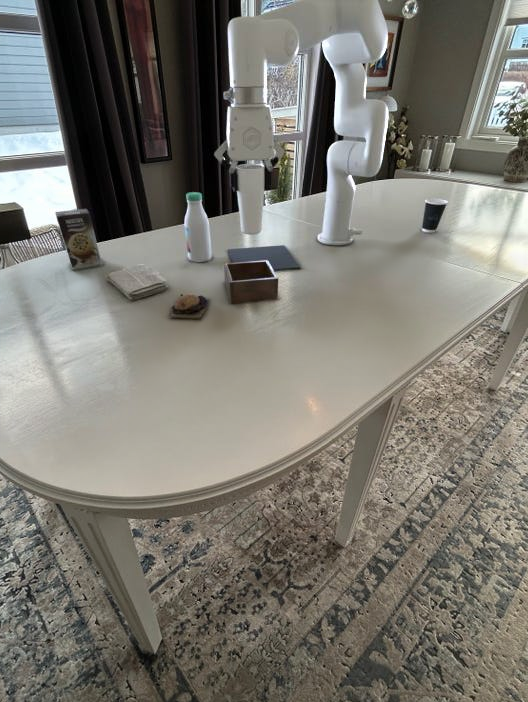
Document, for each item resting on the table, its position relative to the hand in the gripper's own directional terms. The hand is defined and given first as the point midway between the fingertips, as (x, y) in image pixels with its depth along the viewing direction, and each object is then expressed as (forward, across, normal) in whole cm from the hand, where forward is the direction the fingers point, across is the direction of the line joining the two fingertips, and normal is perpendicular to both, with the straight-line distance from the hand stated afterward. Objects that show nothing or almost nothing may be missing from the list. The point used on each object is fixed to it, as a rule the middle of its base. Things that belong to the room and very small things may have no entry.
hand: (250, 189), depth 87 cm
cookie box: (+26, -49, +28) cm, 62 cm away
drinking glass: (+10, 0, 0) cm, 10 cm away
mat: (+26, +7, +21) cm, 34 cm away
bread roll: (+26, -18, -8) cm, 33 cm away
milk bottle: (+26, -13, +26) cm, 39 cm away
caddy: (+26, -1, -1) cm, 26 cm away
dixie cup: (+28, +77, +36) cm, 90 cm away
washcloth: (+26, -32, +9) cm, 42 cm away
